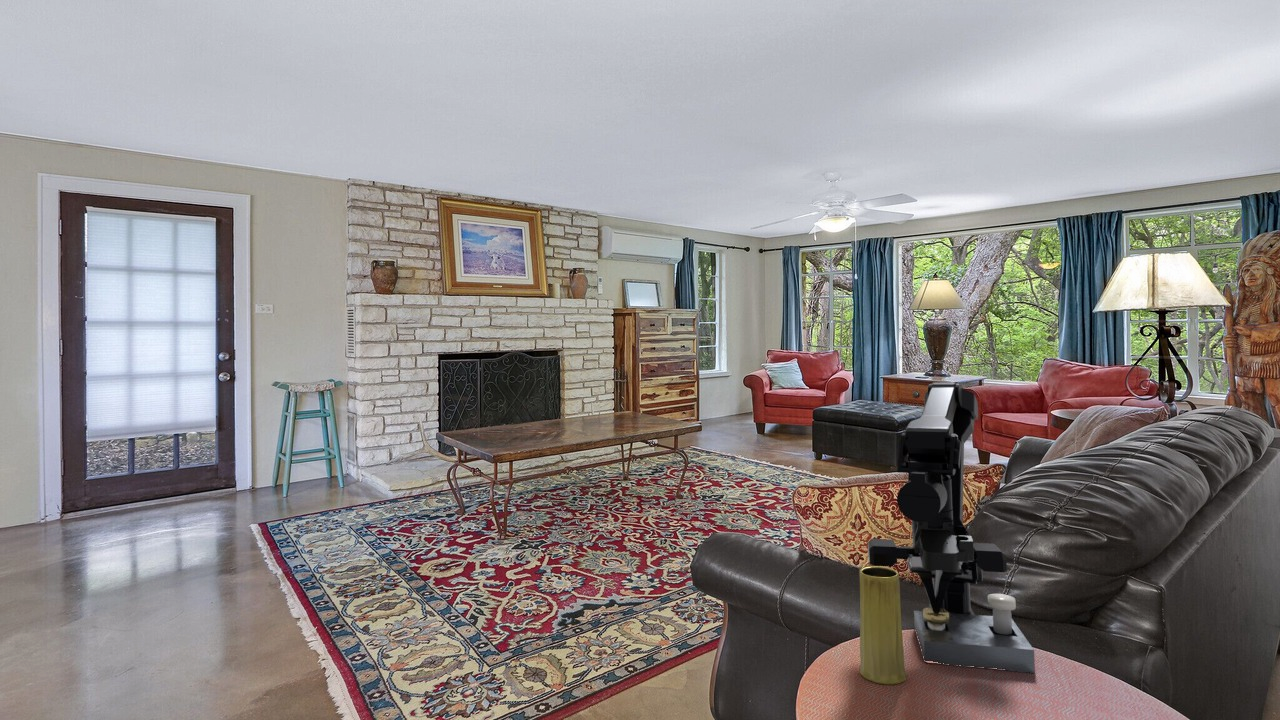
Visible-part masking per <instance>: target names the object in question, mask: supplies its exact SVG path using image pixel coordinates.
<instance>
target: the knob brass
mask: <svg viewBox="0 0 1280 720" xmlns="http://www.w3.org/2000/svg"><path fill="white" fill-rule="evenodd" d="M922 611H923V619H924V620H925V621H927V622H928V630H940V631H945V624H946V623H948V622H949V612H948V611H947V610H945V609H942V608H941V609H940V612H933V609H932V607H930V606H928V607H924V608H923V609H922Z"/></svg>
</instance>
